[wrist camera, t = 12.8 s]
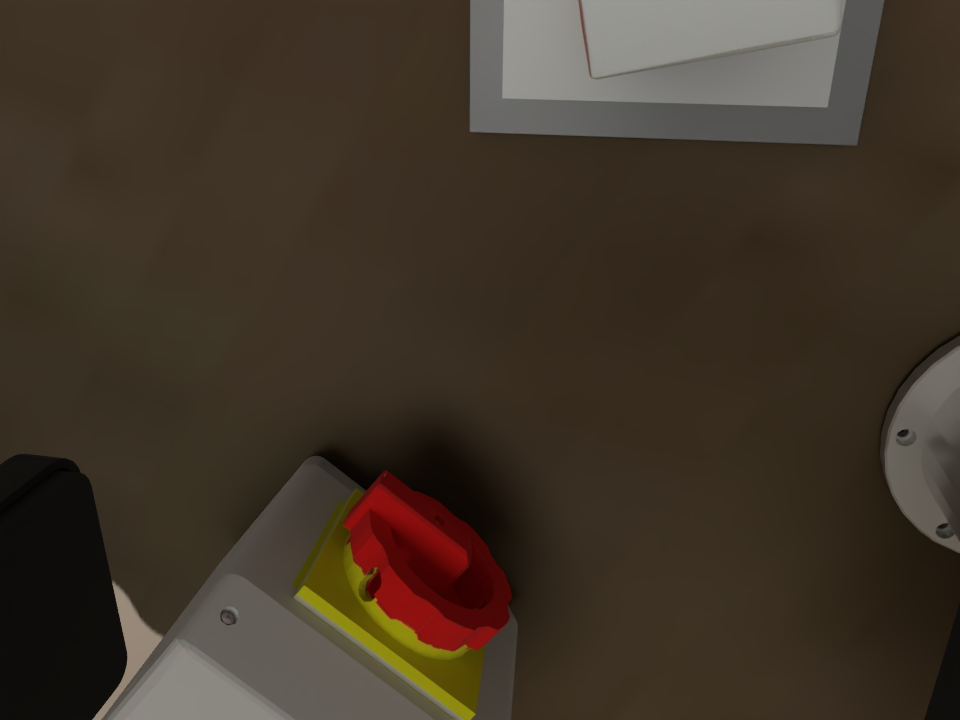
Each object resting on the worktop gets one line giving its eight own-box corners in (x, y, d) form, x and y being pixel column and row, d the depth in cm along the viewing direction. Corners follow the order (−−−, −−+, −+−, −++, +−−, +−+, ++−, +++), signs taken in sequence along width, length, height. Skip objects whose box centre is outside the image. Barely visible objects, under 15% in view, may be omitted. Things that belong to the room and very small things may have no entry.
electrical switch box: (578, 529, 47) (592, 810, 28) (419, 686, 51) (337, 1024, 32) (380, 369, 45) (252, 553, 26) (232, 544, 49) (29, 813, 30)
